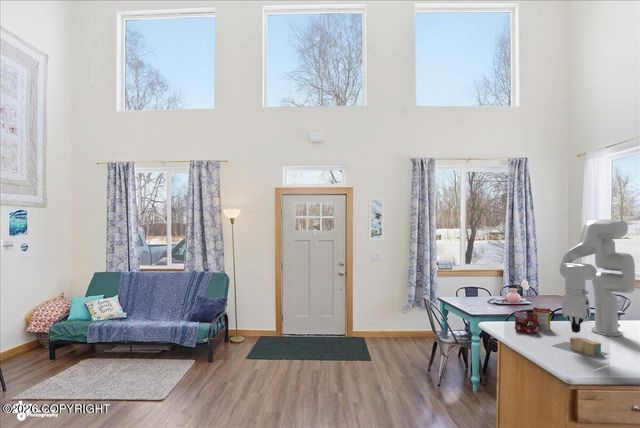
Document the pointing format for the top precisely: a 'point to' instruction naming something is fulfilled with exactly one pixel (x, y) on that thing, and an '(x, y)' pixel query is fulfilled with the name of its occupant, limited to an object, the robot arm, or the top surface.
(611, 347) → the top surface
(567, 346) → the mat
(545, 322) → the canned food
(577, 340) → the oak block
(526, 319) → the toy fire truck
